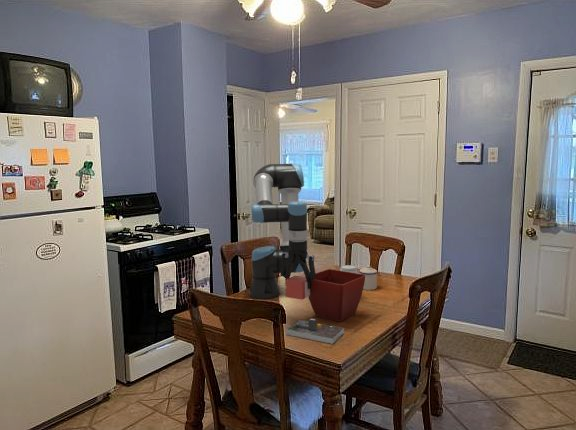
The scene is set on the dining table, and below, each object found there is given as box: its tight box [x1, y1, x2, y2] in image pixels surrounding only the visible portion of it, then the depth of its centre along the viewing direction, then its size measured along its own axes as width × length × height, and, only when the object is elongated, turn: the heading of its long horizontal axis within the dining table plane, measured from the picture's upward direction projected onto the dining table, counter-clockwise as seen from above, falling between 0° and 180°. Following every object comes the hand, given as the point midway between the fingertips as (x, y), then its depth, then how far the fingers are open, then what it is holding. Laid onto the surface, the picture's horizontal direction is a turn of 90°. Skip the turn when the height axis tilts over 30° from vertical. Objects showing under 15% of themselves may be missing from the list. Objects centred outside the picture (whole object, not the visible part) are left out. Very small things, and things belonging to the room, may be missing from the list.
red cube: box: [285, 275, 311, 300], centre depth 176 cm, size 8×8×7 cm
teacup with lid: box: [357, 264, 378, 291], centre depth 220 cm, size 12×9×12 cm
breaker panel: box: [285, 319, 345, 345], centre depth 163 cm, size 19×11×3 cm, turn 62°
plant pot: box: [307, 268, 365, 322], centre depth 182 cm, size 19×19×17 cm
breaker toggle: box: [307, 318, 318, 330], centre depth 162 cm, size 2×2×4 cm
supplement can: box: [339, 264, 358, 273], centre depth 204 cm, size 8×8×15 cm
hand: (298, 294), depth 176 cm, fingers closed on red cube, 7 cm apart
